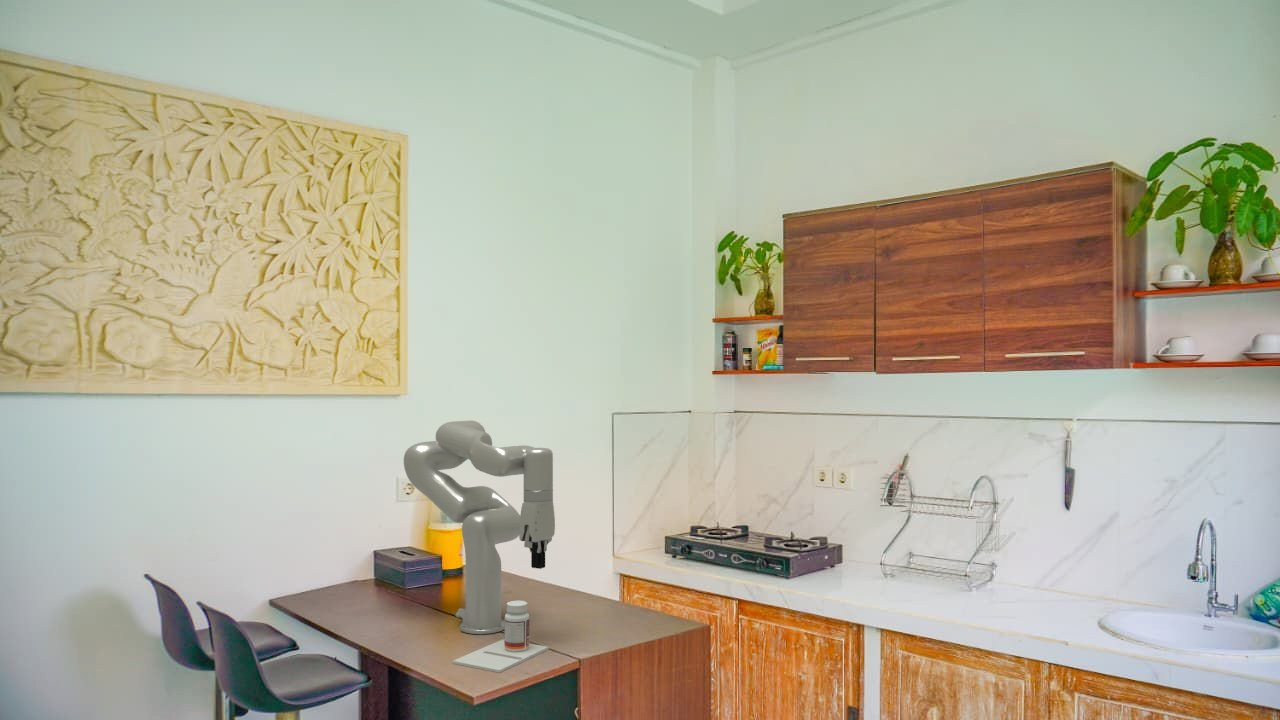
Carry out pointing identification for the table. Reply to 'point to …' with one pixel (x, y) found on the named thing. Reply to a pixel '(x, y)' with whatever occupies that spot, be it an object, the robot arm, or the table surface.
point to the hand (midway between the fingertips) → (538, 567)
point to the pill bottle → (516, 627)
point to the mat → (498, 657)
